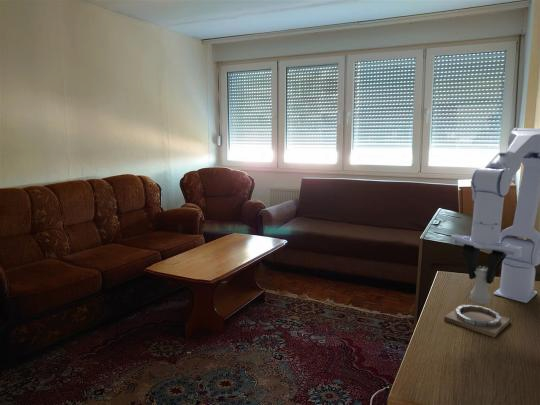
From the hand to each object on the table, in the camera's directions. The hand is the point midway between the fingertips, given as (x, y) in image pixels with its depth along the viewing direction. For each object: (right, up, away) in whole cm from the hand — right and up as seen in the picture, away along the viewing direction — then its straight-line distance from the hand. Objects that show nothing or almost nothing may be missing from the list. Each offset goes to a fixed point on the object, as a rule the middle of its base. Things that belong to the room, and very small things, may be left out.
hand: (481, 280), depth 96 cm
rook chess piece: (0, -5, +1) cm, 5 cm away
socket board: (0, -10, +2) cm, 10 cm away
